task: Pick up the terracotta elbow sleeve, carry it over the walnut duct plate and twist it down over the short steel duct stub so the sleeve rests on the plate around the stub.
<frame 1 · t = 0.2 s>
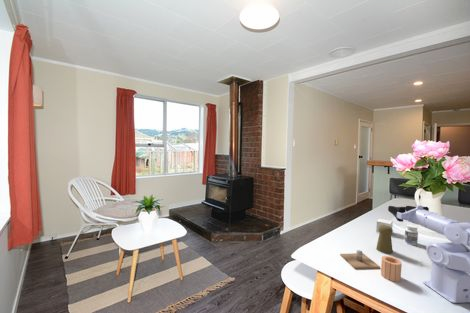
hand: (397, 208, 87), 21 cm above the table, tool horizontal, fingers open, 7 cm apart
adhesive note: (384, 232, 115), on the table
cork: (384, 250, 95), on the table
elbow sleeve: (390, 276, 76), on the table
duct plate: (359, 261, 86), on the table
pill bottle: (410, 243, 102), on the table
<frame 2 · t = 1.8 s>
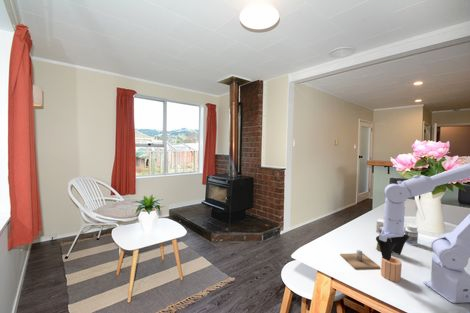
hand: (391, 256, 76), 7 cm above the table, tool pointing down, fingers open, 7 cm apart
nothing on the table moved.
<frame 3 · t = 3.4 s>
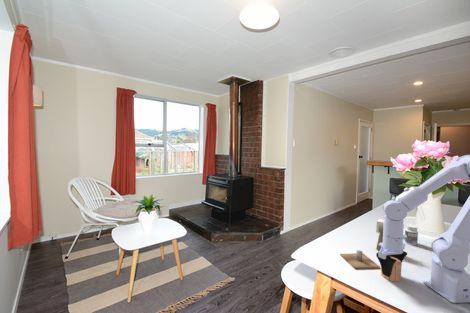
hand: (390, 272, 76), 1 cm above the table, tool pointing down, fingers closed on elbow sleeve, 6 cm apart
elbow sleeve: (390, 276, 76), on the table, touching gripper
everything else where it was.
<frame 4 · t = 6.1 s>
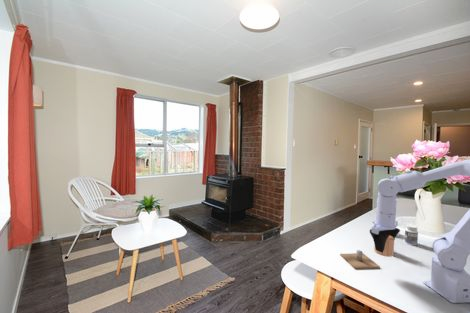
hand: (383, 248, 78), 9 cm above the table, tool pointing down, fingers closed on elbow sleeve, 6 cm apart
elbow sleeve: (383, 252, 78), point 8 cm above the table, touching gripper
everything else where it was.
when the fingers open (4 cm above the table, at t = 9.4 s): elbow sleeve drops 2 cm, resting on duct plate.
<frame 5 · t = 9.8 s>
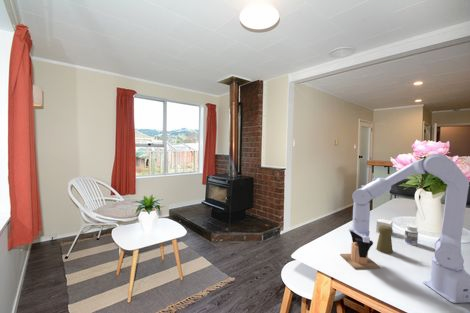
hand: (359, 252, 86), 4 cm above the table, tool pointing down, fingers open, 7 cm apart
elbow sleeve: (359, 259, 86), point 1 cm above the table, touching duct plate
everything else where it was.
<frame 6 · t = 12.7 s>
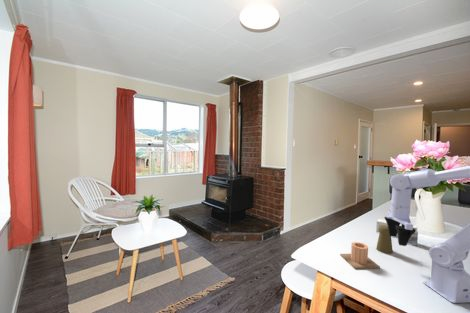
hand: (397, 240, 82), 10 cm above the table, tool pointing down, fingers open, 7 cm apart
nothing on the table moved.
at the end: elbow sleeve 0.0 cm off-centre on the duct plate, point 0.6 cm above the duct plate's base; elbow sleeve tilted 0°; the gripper is holding nothing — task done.
